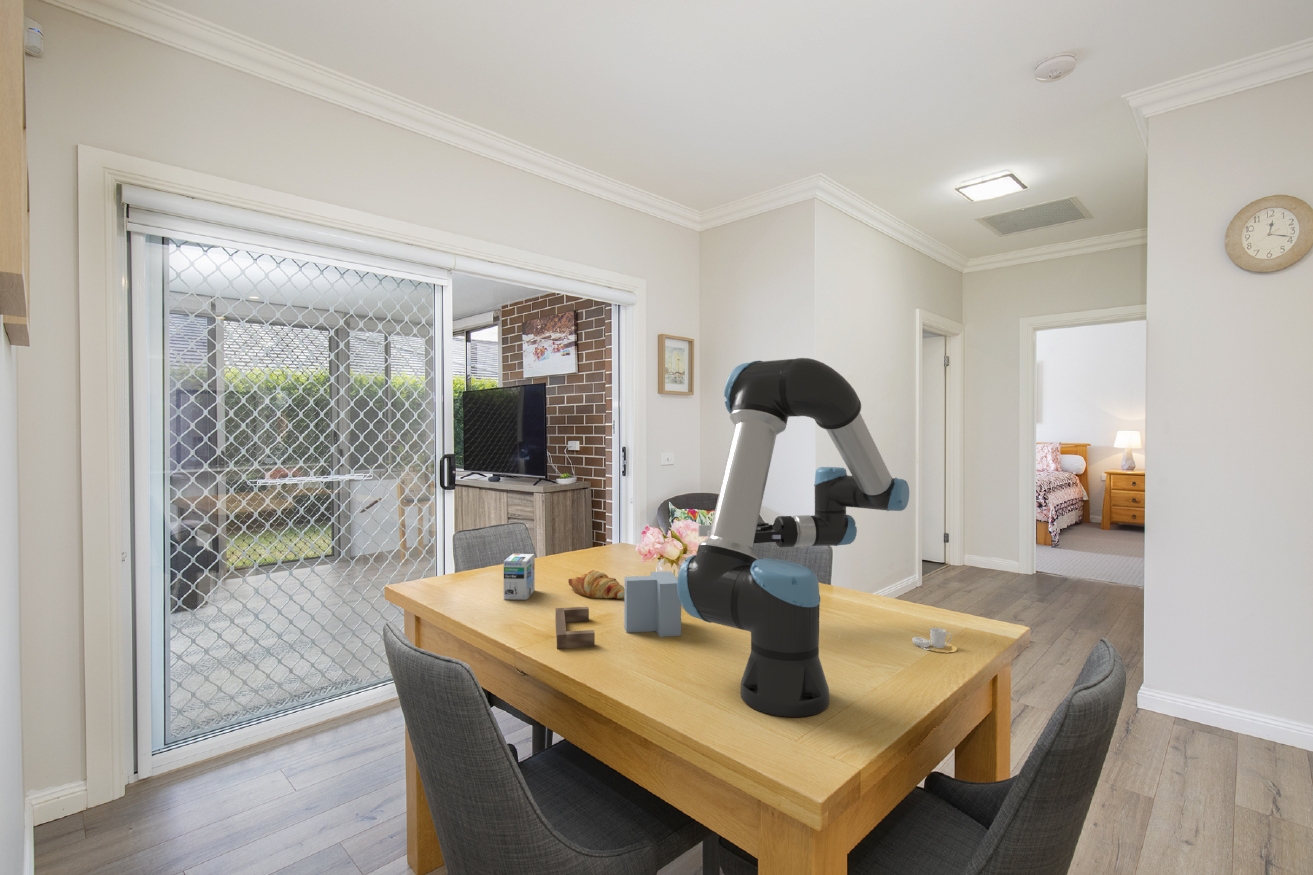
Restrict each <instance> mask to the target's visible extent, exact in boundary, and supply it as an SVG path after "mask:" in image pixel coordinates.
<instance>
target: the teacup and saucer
mask: <svg viewBox="0 0 1313 875" xmlns="http://www.w3.org/2000/svg"><path fill="white" fill-rule="evenodd" d="M929 632H930V633H929V634H930V637H929V638H930V639H927V638H924V637H921V636H920V637H919V636H914V637H912V638H911V640H912V643H913V644H914V645H916V646H917V647H919V648H921V649H922V648H923V650H925V651H927V650H929V647H930V646H932V648H934V647H936V648H935V649H939V648H941V649H944V647H946V646H948V645H947V644H948V643H950V642H951V640H952V638H953V636H952V634H951V633H950V632H947V630H946V629H944V628H940V627H931V628H930V629H929ZM947 635H950V638H949V640H948V641H947V643H946V644H945V642H946V637H947ZM930 641H931V643H930ZM925 647H926V648H927V649H926V648H925Z"/></svg>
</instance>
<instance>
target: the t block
mask: <svg viewBox="0 0 1313 875" xmlns="http://www.w3.org/2000/svg"><path fill="white" fill-rule="evenodd" d="M677 580H678V577H677V576H676V575H675V574H674V573H673V572H672V571H671V570H667V571H666V570H665V571H651V572H650V575H638V576H624V589H625V593H624V598H623V599H624V600H623V601H624V602H623V604H624V606H623V607H624V611H623V612H624V614H623V615H624V617H623V618H624V619H623V620H624V622H623V623H624V624H623V626H624V630H625V632H626V633H627V634H628V633H644V632H645V633H647V632H656V633H657V635H658V636H659V638H663V637H664V638H665V637H678V636H679V637H680V636H682V605H681V601H680V599H679V596H678V590H677Z"/></svg>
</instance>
